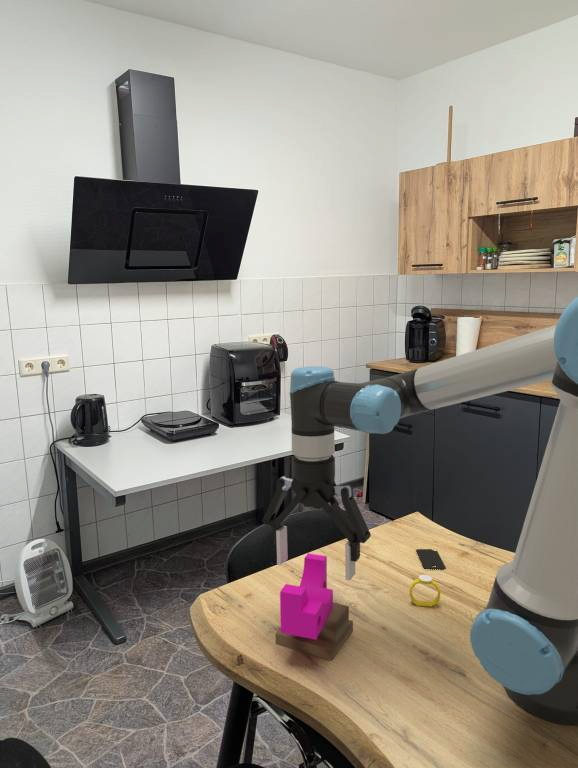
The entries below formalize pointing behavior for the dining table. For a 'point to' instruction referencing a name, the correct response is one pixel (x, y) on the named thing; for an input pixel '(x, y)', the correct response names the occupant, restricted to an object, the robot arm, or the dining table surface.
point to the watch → (425, 580)
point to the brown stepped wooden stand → (322, 635)
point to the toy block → (307, 600)
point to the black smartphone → (430, 559)
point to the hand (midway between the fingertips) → (315, 569)
